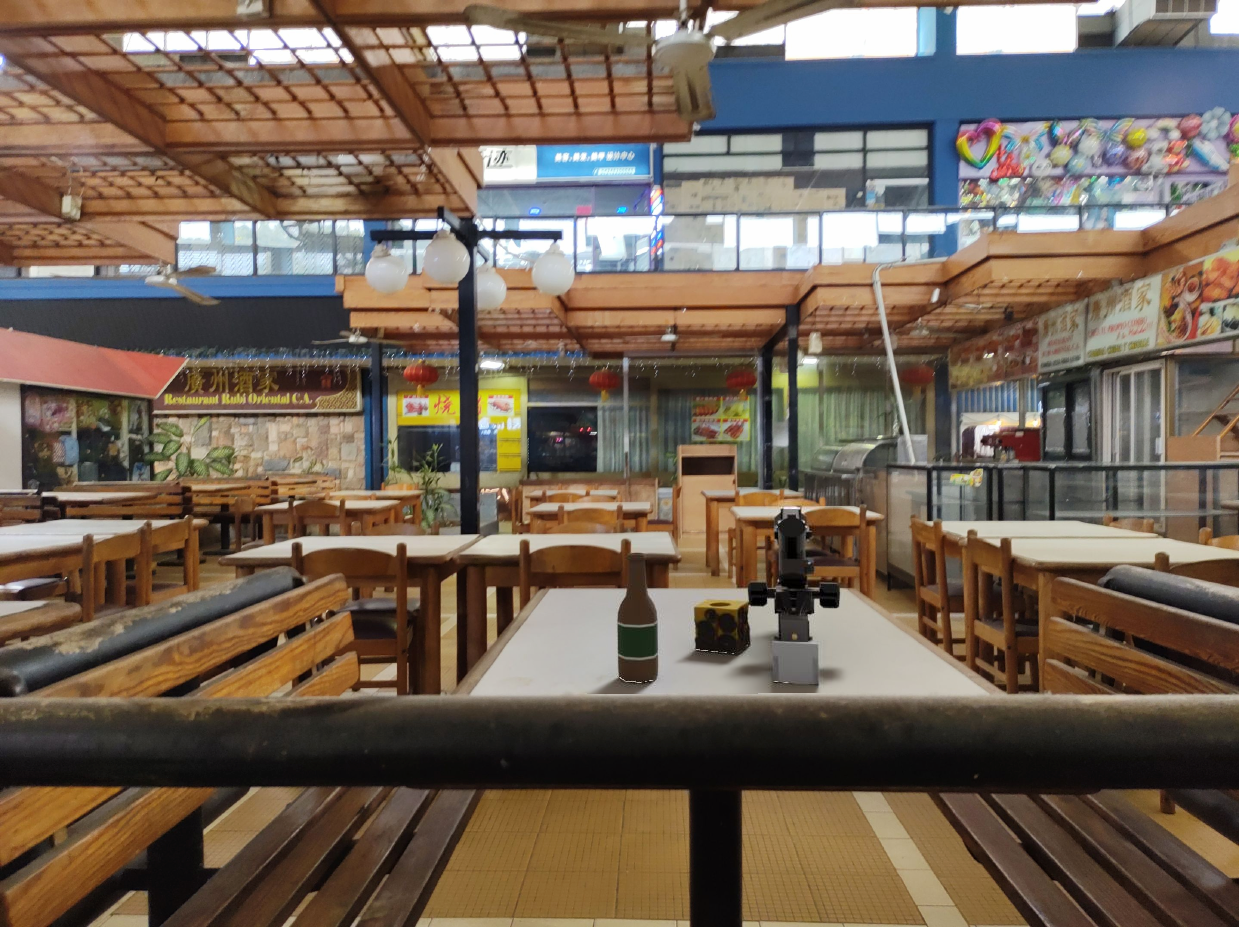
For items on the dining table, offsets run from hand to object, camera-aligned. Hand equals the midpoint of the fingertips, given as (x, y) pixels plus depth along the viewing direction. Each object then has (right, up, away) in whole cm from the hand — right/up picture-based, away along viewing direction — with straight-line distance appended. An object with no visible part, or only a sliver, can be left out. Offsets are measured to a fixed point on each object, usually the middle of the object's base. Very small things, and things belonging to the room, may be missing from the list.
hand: (794, 628), depth 146 cm
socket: (-2, -7, -8) cm, 11 cm away
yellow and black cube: (-12, -8, +15) cm, 21 cm away
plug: (-1, -7, -3) cm, 8 cm away
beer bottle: (-32, -8, -8) cm, 34 cm away
